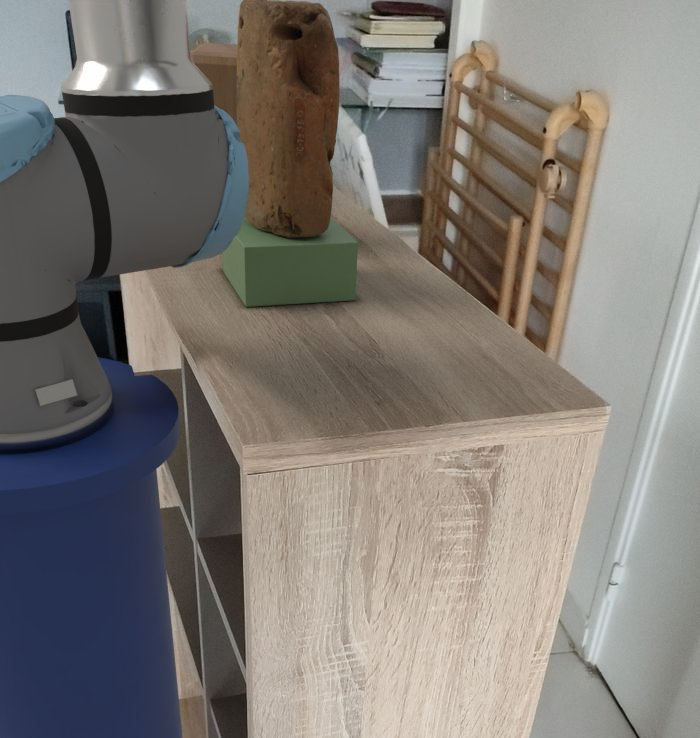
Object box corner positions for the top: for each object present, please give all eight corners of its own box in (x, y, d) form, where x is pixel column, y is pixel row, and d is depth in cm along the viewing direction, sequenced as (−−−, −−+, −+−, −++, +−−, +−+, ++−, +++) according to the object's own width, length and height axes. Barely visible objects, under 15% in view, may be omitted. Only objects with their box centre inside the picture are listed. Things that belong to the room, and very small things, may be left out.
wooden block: (194, 245, 109) (183, 51, 96) (207, 223, 116) (199, 41, 104) (276, 250, 109) (276, 57, 96) (284, 227, 116) (285, 46, 104)
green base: (245, 307, 93) (244, 247, 89) (222, 270, 102) (220, 214, 98) (355, 300, 96) (358, 242, 92) (323, 265, 105) (325, 211, 101)
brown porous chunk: (234, 218, 97) (227, -7, 85) (295, 212, 100) (297, -6, 88) (279, 245, 90) (279, 5, 78) (344, 238, 93) (353, 5, 81)
